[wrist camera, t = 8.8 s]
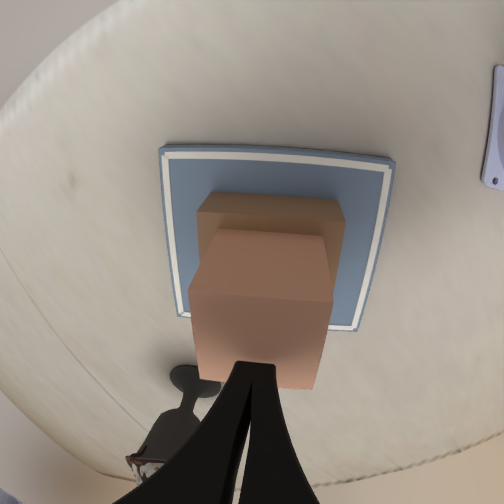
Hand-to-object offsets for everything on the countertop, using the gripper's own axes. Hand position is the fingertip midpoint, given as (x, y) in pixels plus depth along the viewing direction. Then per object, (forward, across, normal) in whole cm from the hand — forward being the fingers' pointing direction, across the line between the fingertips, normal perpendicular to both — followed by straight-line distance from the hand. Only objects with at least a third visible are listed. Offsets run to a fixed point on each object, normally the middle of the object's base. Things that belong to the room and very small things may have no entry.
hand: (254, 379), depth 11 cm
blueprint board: (+10, 0, 0) cm, 10 cm away
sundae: (+10, +6, +15) cm, 19 cm away
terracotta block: (+6, 0, 0) cm, 6 cm away
